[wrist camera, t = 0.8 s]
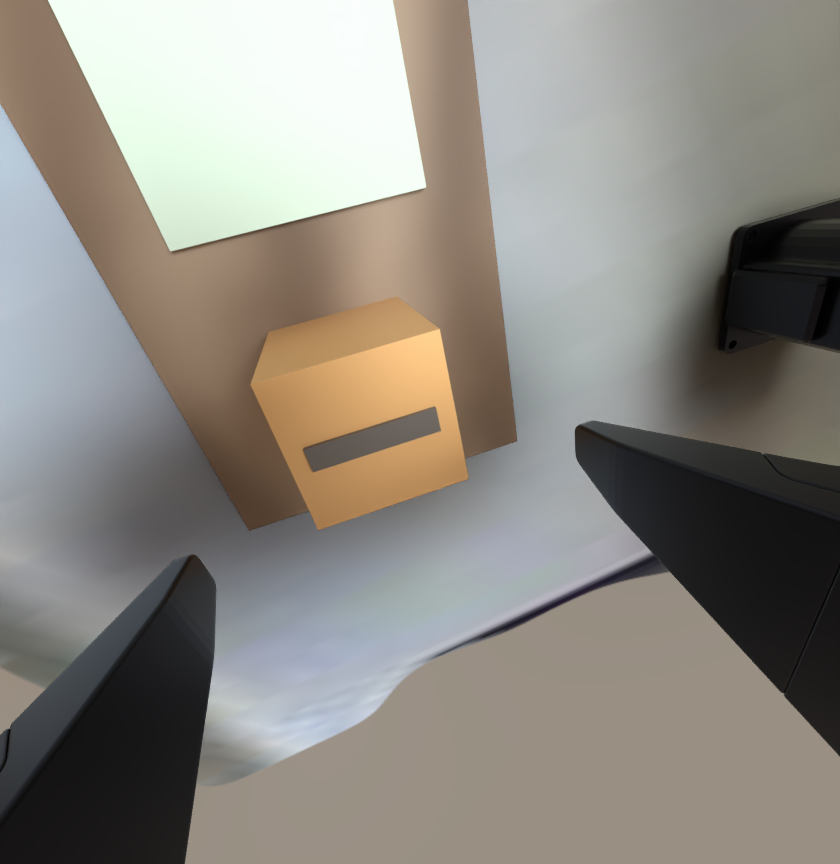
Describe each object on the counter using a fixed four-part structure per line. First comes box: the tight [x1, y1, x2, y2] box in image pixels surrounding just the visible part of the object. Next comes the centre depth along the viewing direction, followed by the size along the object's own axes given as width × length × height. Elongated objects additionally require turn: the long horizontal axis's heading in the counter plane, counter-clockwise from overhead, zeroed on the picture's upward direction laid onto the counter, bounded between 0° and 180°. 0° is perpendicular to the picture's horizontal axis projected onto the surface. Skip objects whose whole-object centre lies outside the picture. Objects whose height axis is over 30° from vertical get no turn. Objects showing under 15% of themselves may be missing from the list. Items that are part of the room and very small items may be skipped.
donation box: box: [250, 296, 469, 530], centre depth 14 cm, size 5×5×6 cm
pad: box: [48, 0, 426, 251], centre depth 12 cm, size 9×9×1 cm
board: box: [0, 0, 517, 531], centre depth 15 cm, size 14×22×1 cm, turn 13°
